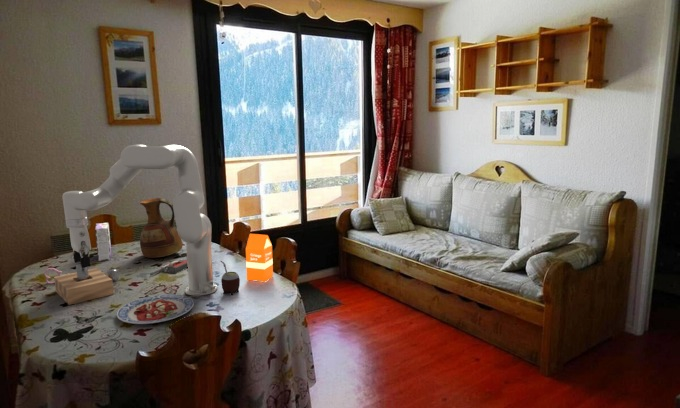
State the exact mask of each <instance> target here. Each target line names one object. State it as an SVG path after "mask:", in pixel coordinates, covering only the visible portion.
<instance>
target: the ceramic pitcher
mask: <svg viewBox="0 0 680 408" xmlns="http://www.w3.org/2000/svg"><path fill="white" fill-rule="evenodd" d="M139 204H140V205H142V206H143V207H144V208H145V213H146V215H147V223H146V225H144V227H143V228H142V230H141V233H140V236H139V237H140V238H139V246H140V247H139V248H140V250H141V251H140V252H141V254H142V255H143V257H145V258H151V259H155V258H162V257H168V256H171V255H174V254H176V253H179V252H180V251H181V250H182V249H183V240H182V239H181V238H180V237H179V234H178V231H177V227H175V225H174V224H175V215H174V209H173V202H171V201H170V200H169V199H166V198H164V197H163V198H162V197H156V198H155V197H154V198H149V199H144V200H142V201H140V202H139ZM161 204H166V205H167V206H168V207H169V208H170V210H171V219H170V220H169V221H167V220H166V219H164V217H163V216H162V214H161V210H160V205H161Z"/></svg>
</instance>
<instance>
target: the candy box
mask: <svg viewBox="0 0 680 408" xmlns="http://www.w3.org/2000/svg"><path fill="white" fill-rule="evenodd" d="M110 234H111V233H110V224H109V222H103V223H102V222H101V223H99V222H98V223H95V241H96V242H95V243H96V251H97V253H96V254H97V262H103V261H110V260H111V259H112V245H111V236H110Z"/></svg>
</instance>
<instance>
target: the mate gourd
mask: <svg viewBox="0 0 680 408" xmlns="http://www.w3.org/2000/svg"><path fill="white" fill-rule="evenodd" d="M220 262H221V263H222V264H223V268H224V270H225V272H224V274H223V275H222V276H221V279H220V282H221V288H222V291H223V293H222V294H223V295H228V294H230V296H234V294H235V292H236V293H240V290H239V289H240V283H241V282H240V281H241V279H240V275H239V274H238V273H237V272H235V271H228V270H227V266H226V263H225V262H224V261H223V260H220Z"/></svg>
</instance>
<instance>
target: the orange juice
mask: <svg viewBox="0 0 680 408" xmlns="http://www.w3.org/2000/svg"><path fill="white" fill-rule="evenodd" d="M273 260H274V259H273V245H272V242H271V240H270V237H269V235H268V234H259V233H249V235H248V239H247V242H246V247H245V264H246V265H245V266H246V267H245V268H246V281H247V280H257V281H263V282H265V281H267V280H268V279H270V278H271V277H272V276H273V277H274V265H273V264H274V261H273ZM271 279H272V278H271ZM271 279H270V280H271ZM268 281H269V280H268ZM268 281H267V282H268Z"/></svg>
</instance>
